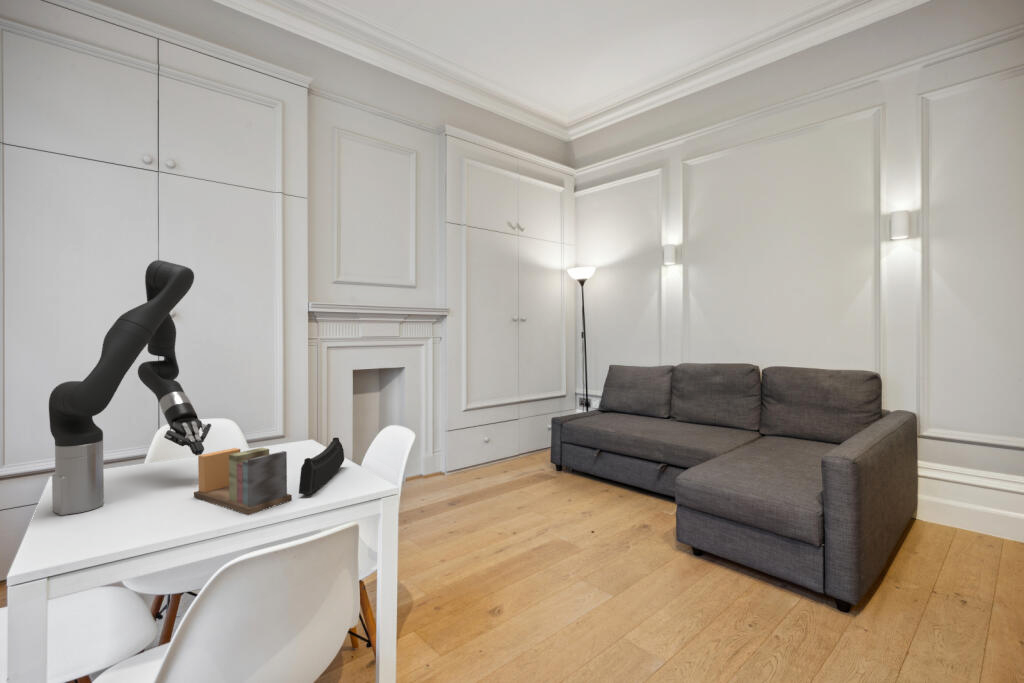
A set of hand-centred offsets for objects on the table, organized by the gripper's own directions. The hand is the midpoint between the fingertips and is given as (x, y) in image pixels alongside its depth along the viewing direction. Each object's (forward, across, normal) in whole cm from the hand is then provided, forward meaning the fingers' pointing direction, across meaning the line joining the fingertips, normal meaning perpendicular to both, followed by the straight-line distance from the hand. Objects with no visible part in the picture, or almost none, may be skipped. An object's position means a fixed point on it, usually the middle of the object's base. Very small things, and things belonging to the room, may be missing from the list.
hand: (199, 453), depth 139 cm
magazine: (+28, +21, -13) cm, 37 cm away
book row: (+23, 0, -9) cm, 24 cm away
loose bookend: (+14, 0, -2) cm, 14 cm away
